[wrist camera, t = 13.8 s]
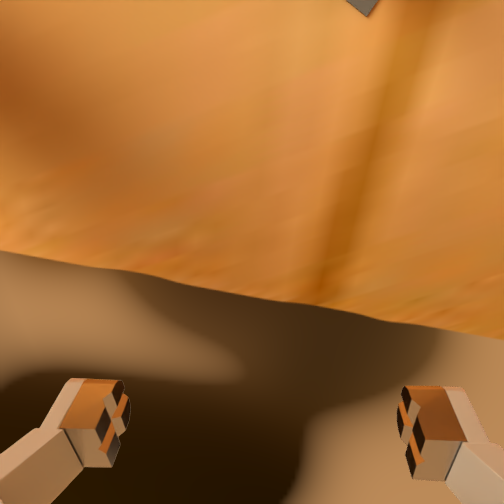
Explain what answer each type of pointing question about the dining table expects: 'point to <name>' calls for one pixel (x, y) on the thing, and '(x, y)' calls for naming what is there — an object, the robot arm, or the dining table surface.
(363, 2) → the mat
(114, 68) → the dining table surface
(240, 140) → the dining table surface
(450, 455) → the robot arm
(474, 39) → the dining table surface
